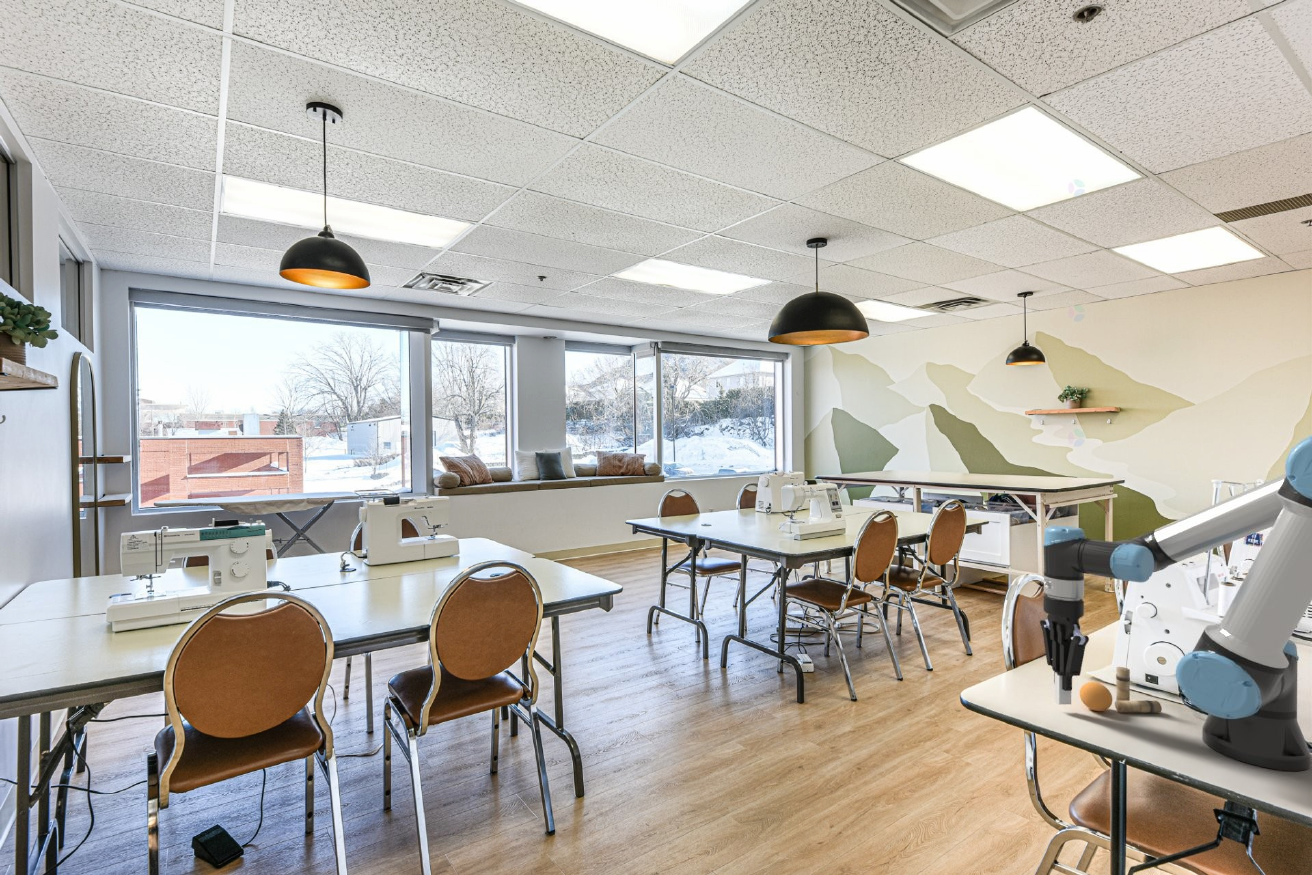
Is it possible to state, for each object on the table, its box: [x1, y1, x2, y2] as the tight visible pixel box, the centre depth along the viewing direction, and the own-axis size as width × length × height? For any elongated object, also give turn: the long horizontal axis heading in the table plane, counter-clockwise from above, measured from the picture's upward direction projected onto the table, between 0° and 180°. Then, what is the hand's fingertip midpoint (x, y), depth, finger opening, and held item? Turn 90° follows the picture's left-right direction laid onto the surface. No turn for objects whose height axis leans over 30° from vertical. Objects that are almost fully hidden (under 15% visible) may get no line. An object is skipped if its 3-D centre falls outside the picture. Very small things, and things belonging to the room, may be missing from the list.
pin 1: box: [1115, 666, 1131, 702], centre depth 141 cm, size 2×2×8 cm
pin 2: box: [1114, 699, 1163, 714], centre depth 138 cm, size 2×2×8 cm
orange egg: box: [1079, 681, 1113, 712], centre depth 139 cm, size 6×6×6 cm
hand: (1062, 702), depth 138 cm, fingers closed
